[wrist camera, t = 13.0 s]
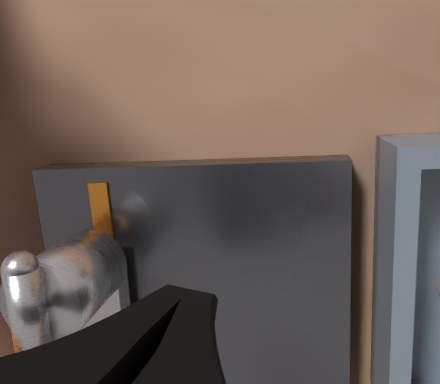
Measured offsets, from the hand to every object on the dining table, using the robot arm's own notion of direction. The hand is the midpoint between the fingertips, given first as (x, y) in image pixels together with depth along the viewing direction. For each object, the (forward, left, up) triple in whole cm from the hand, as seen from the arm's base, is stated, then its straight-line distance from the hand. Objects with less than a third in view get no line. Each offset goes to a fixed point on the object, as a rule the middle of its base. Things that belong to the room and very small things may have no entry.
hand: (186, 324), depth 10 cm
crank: (+2, -4, -4) cm, 6 cm away
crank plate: (+3, -1, -5) cm, 6 cm away
